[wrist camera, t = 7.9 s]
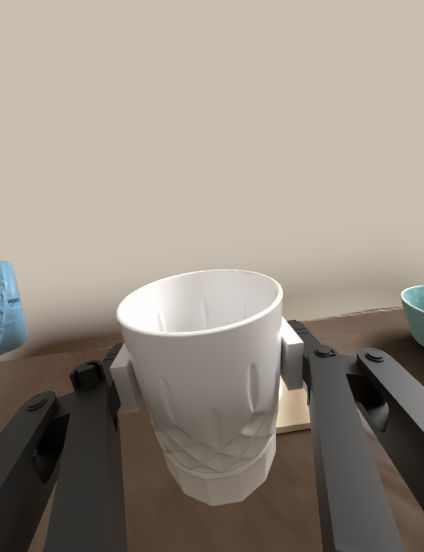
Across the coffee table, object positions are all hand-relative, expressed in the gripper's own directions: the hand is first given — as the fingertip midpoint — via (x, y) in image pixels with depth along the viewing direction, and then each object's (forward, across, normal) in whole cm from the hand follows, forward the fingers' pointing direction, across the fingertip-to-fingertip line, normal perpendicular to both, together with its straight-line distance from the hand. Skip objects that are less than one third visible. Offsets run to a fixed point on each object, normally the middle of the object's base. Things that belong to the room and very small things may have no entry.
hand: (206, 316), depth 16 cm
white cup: (-5, 0, -6) cm, 8 cm away
